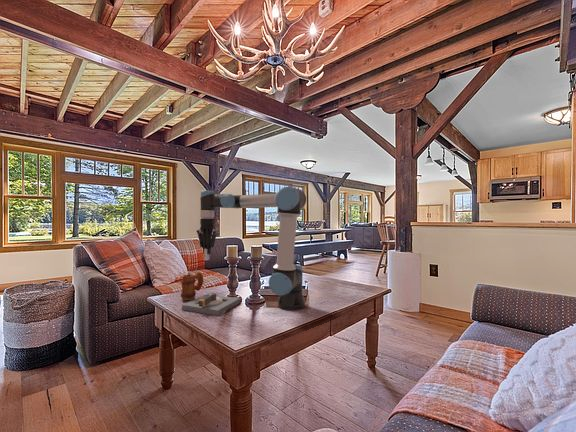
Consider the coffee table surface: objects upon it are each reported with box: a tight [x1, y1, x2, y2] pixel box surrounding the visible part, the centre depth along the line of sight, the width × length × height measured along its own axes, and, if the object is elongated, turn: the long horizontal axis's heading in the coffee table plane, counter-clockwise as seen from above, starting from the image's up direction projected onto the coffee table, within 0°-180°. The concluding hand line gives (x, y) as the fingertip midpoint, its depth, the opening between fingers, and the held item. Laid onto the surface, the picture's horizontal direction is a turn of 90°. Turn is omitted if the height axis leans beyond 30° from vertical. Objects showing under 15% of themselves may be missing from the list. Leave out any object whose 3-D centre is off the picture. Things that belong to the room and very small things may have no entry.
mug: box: [180, 271, 204, 302], centre depth 172 cm, size 15×8×15 cm, turn 143°
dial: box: [199, 292, 223, 307], centre depth 155 cm, size 18×11×5 cm, turn 167°
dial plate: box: [181, 293, 241, 316], centre depth 159 cm, size 22×22×3 cm
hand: (206, 259), depth 163 cm, fingers closed
